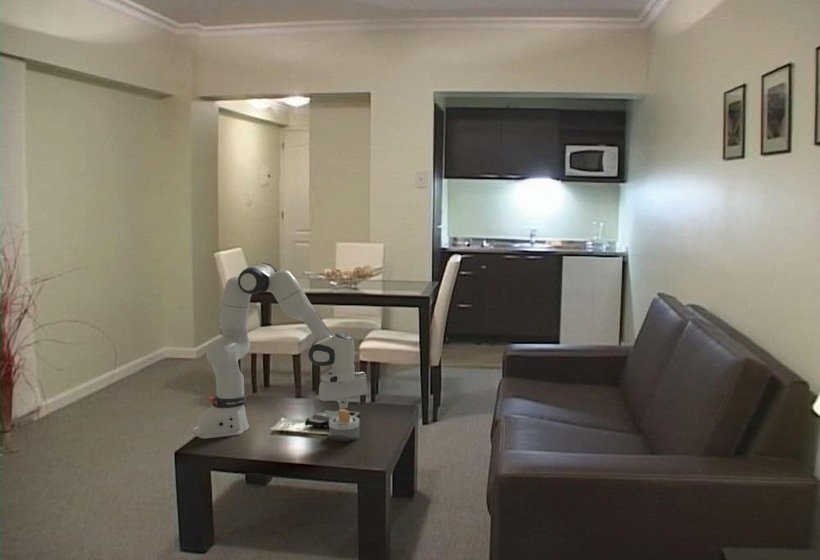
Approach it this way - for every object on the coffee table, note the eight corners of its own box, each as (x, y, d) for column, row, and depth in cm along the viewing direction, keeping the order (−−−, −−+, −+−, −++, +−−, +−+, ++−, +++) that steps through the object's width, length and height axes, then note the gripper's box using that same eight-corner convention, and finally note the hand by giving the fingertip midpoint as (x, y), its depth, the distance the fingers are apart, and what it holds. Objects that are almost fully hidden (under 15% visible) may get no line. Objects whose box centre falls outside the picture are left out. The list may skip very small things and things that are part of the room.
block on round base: (340, 429, 296) (340, 414, 296) (332, 424, 303) (331, 410, 302) (356, 425, 300) (356, 411, 300) (348, 421, 306) (347, 407, 306)
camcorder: (352, 432, 308) (352, 420, 308) (304, 429, 312) (304, 417, 311) (361, 420, 324) (361, 408, 324) (315, 417, 328) (315, 406, 327)
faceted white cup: (337, 444, 294) (337, 426, 293) (324, 435, 304) (324, 418, 303) (364, 438, 300) (364, 421, 299) (350, 430, 310) (350, 413, 309)
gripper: (362, 369, 307) (362, 402, 309) (316, 375, 296) (317, 409, 298) (370, 373, 302) (369, 406, 303) (323, 379, 291) (323, 414, 293)
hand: (343, 408), depth 301 cm, fingers closed
